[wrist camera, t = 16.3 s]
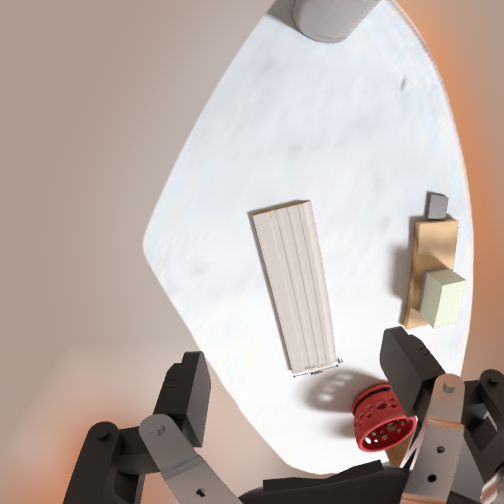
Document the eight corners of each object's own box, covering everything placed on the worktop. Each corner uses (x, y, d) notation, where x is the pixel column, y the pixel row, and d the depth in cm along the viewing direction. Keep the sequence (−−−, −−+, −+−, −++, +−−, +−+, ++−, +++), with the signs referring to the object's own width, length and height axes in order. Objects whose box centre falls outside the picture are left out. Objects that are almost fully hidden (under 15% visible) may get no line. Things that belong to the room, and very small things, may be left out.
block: (415, 414, 57) (441, 467, 38) (410, 428, 59) (433, 478, 40) (380, 427, 58) (402, 484, 39) (377, 440, 60) (396, 494, 41)
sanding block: (423, 270, 41) (442, 285, 36) (446, 266, 41) (466, 280, 35) (417, 311, 44) (433, 328, 38) (439, 305, 44) (456, 321, 38)
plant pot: (405, 373, 51) (426, 410, 40) (389, 410, 55) (404, 445, 44) (352, 382, 51) (368, 425, 40) (340, 419, 55) (351, 458, 44)
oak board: (415, 221, 40) (419, 224, 39) (453, 218, 40) (458, 220, 38) (403, 325, 46) (406, 329, 45) (439, 316, 46) (442, 320, 45)
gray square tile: (427, 193, 39) (431, 194, 38) (444, 196, 39) (448, 197, 38) (424, 216, 40) (428, 218, 39) (441, 218, 40) (445, 220, 39)
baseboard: (319, 197, 40) (252, 214, 41) (323, 200, 37) (252, 218, 38) (342, 356, 49) (291, 369, 50) (346, 365, 46) (293, 379, 47)
